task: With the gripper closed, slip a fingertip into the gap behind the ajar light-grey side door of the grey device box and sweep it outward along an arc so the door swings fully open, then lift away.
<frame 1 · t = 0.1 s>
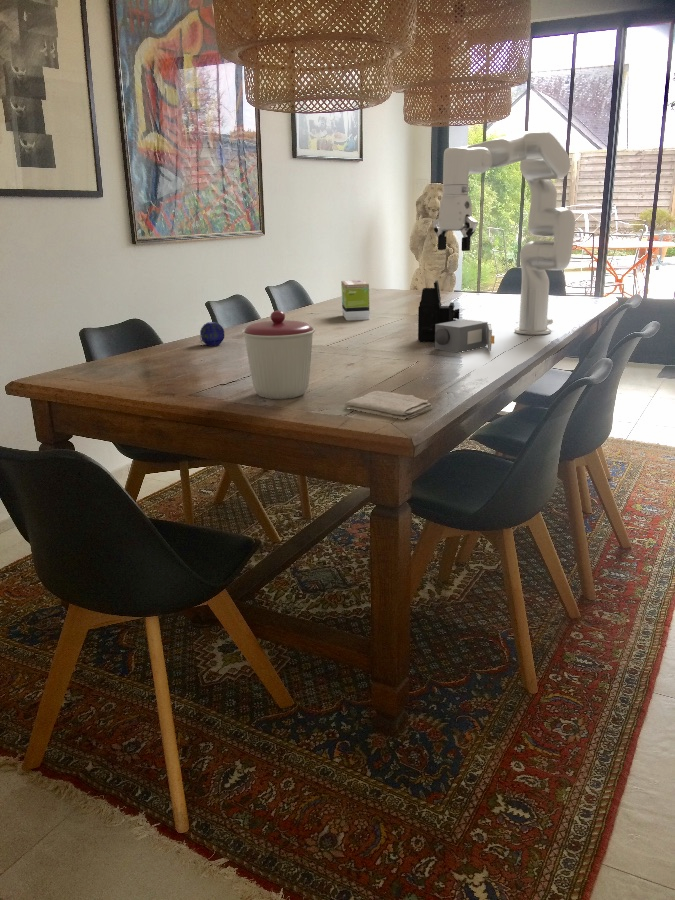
hand: (453, 250, 231), 31 cm above the table, tool pointing down, fingers open, 9 cm apart
canister: (281, 395, 189), on the table
grey device box: (460, 347, 244), on the table
camera: (438, 341, 257), on the table
side door: (490, 337, 237), point 4 cm above the table, hinge at 40.0°
ball: (212, 345, 259), on the table
tea box: (355, 318, 313), on the table
washcloth: (388, 411, 174), on the table
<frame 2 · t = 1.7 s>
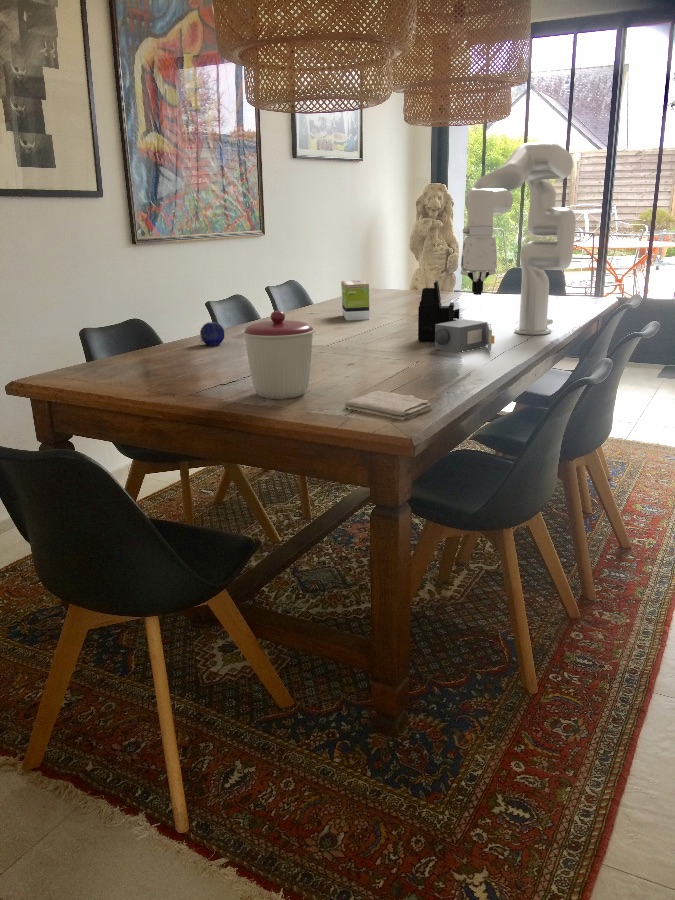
hand: (477, 294, 230), 18 cm above the table, tool pointing down, fingers closed
nothing on the table moved.
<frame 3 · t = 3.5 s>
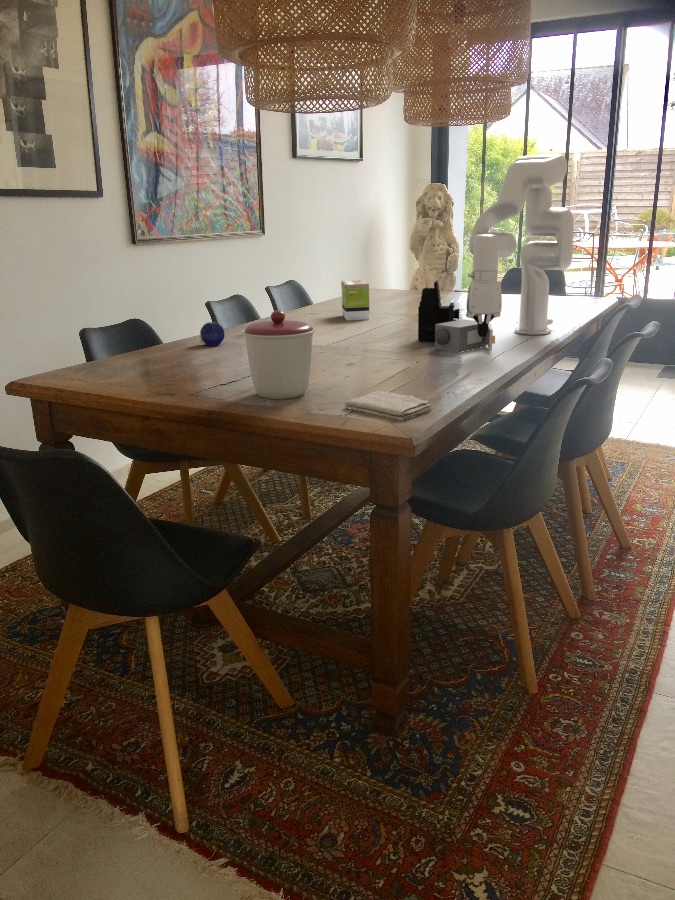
hand: (482, 336, 234), 5 cm above the table, tool pointing down, fingers closed
side door: (490, 337, 237), point 4 cm above the table, hinge at 41.2°, touching gripper
everything else where it was.
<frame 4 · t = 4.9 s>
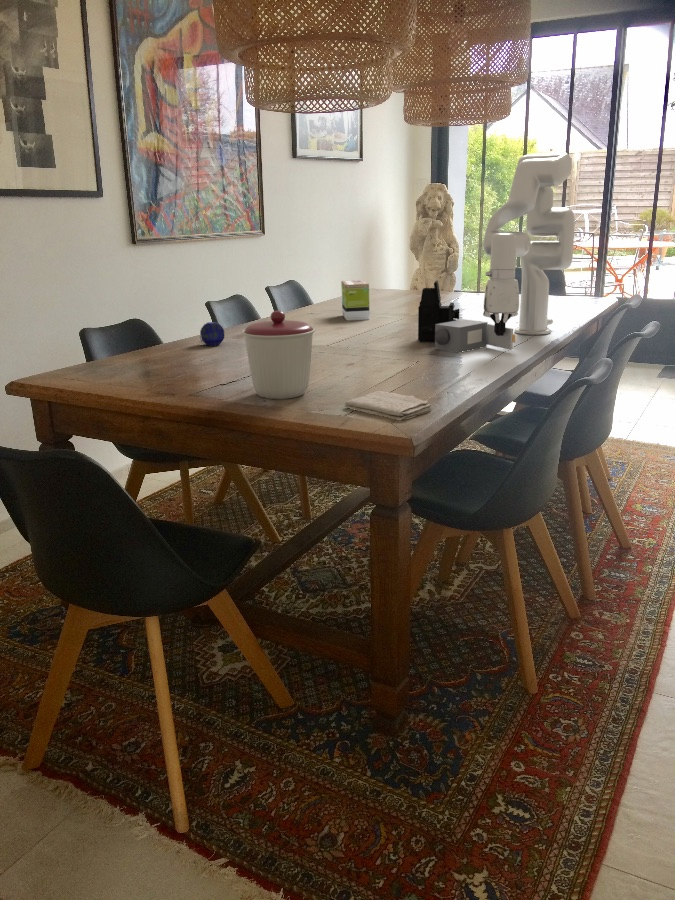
hand: (499, 335, 234), 5 cm above the table, tool pointing down, fingers closed
side door: (500, 336, 238), point 4 cm above the table, hinge at 75.8°, touching gripper
everything else where it was.
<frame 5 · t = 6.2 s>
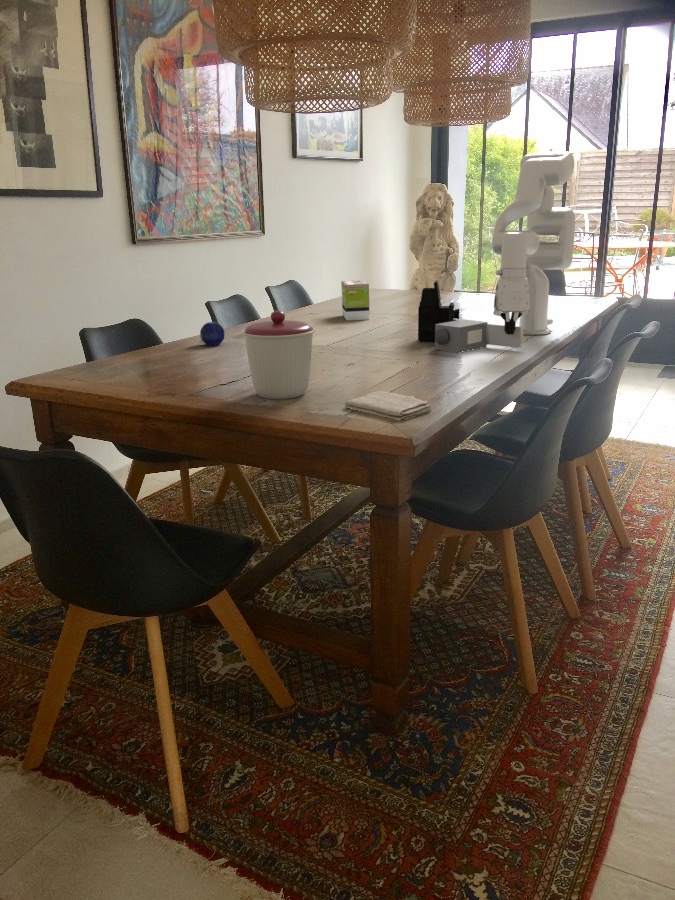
hand: (509, 333, 235), 6 cm above the table, tool pointing down, fingers closed
side door: (504, 335, 239), point 4 cm above the table, hinge at 99.3°, touching gripper
everything else where it was.
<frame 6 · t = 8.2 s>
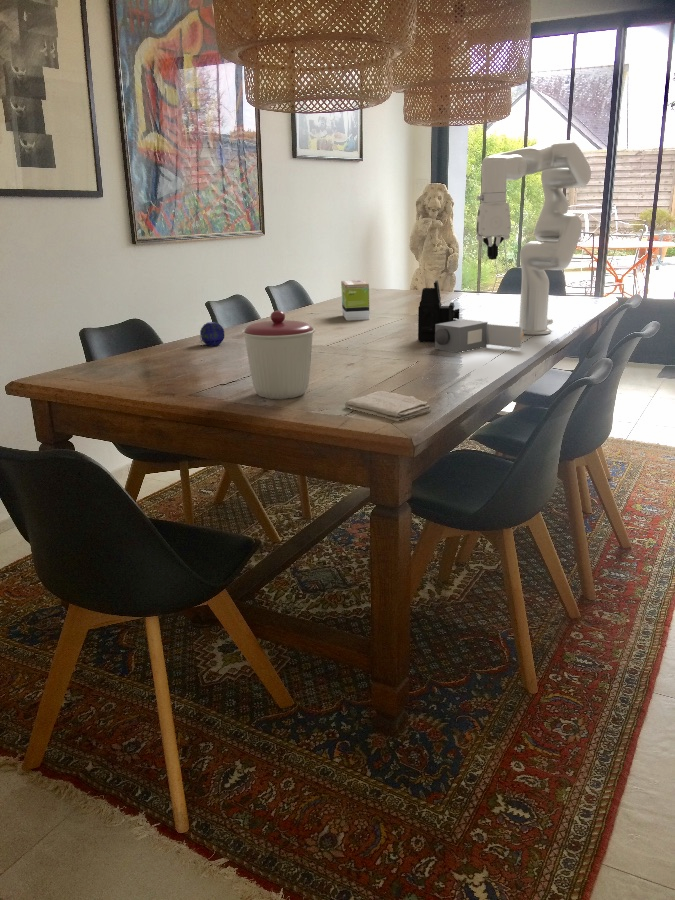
hand: (492, 258, 240), 28 cm above the table, tool pointing down, fingers closed
side door: (504, 335, 239), point 4 cm above the table, hinge at 99.4°
everything else where it was.
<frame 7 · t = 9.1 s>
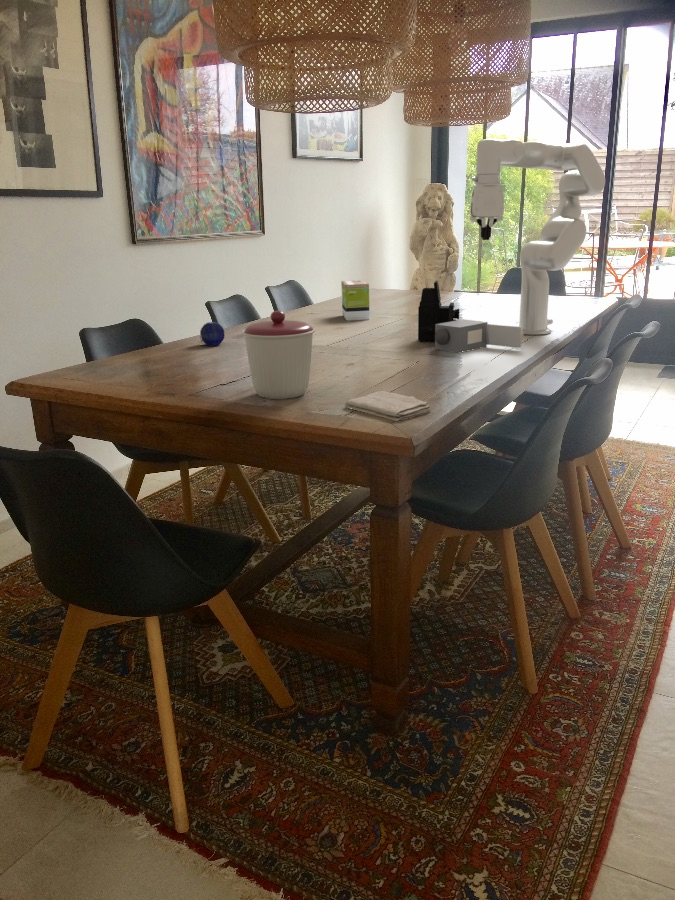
hand: (485, 239, 246), 33 cm above the table, tool pointing down, fingers closed
nothing on the table moved.
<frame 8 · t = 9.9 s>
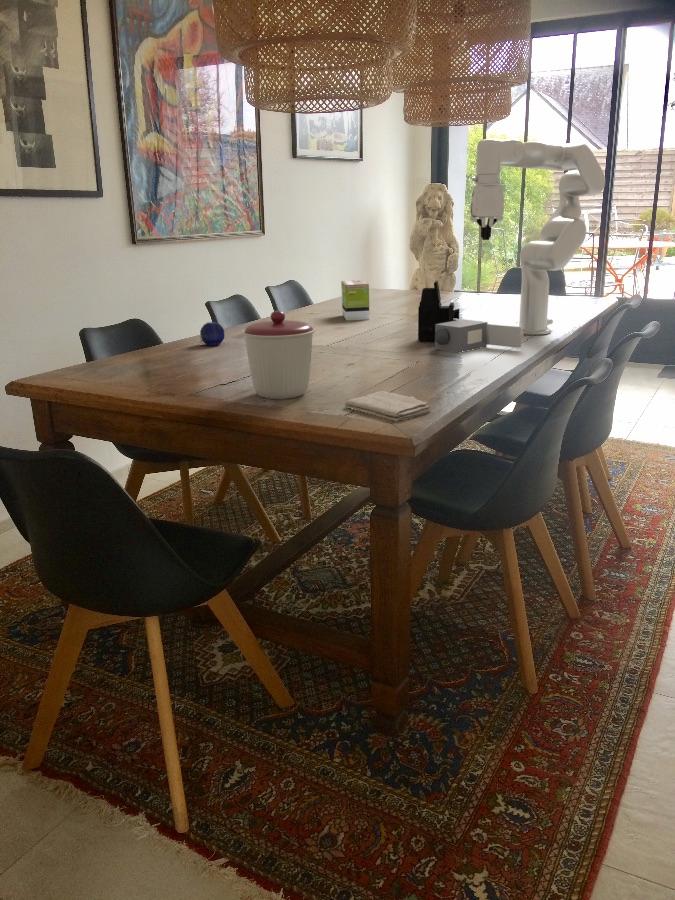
hand: (485, 239, 246), 33 cm above the table, tool pointing down, fingers closed
nothing on the table moved.
at the end: side door at +99° (first picture: +40°); side door touching nothing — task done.
